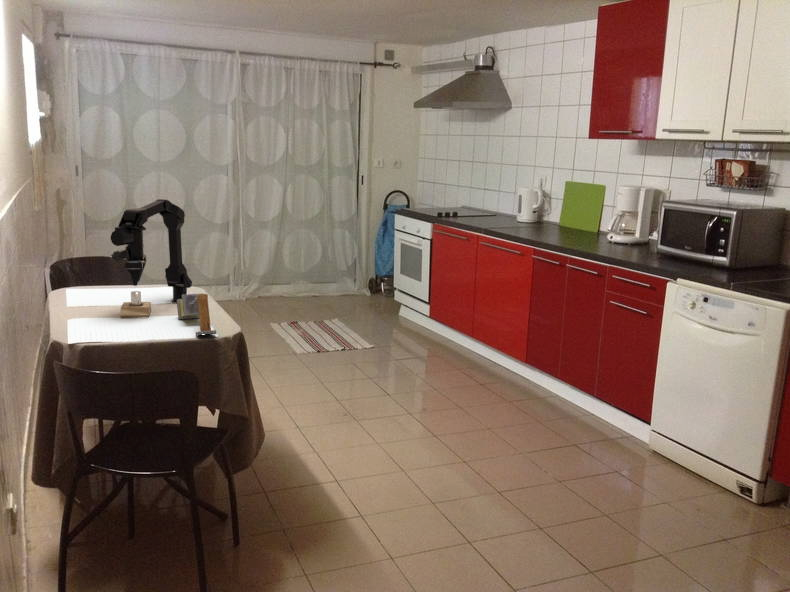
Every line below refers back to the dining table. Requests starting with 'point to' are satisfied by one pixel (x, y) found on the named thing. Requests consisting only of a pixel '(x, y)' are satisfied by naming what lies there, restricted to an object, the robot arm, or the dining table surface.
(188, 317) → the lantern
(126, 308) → the bore block
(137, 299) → the pin
